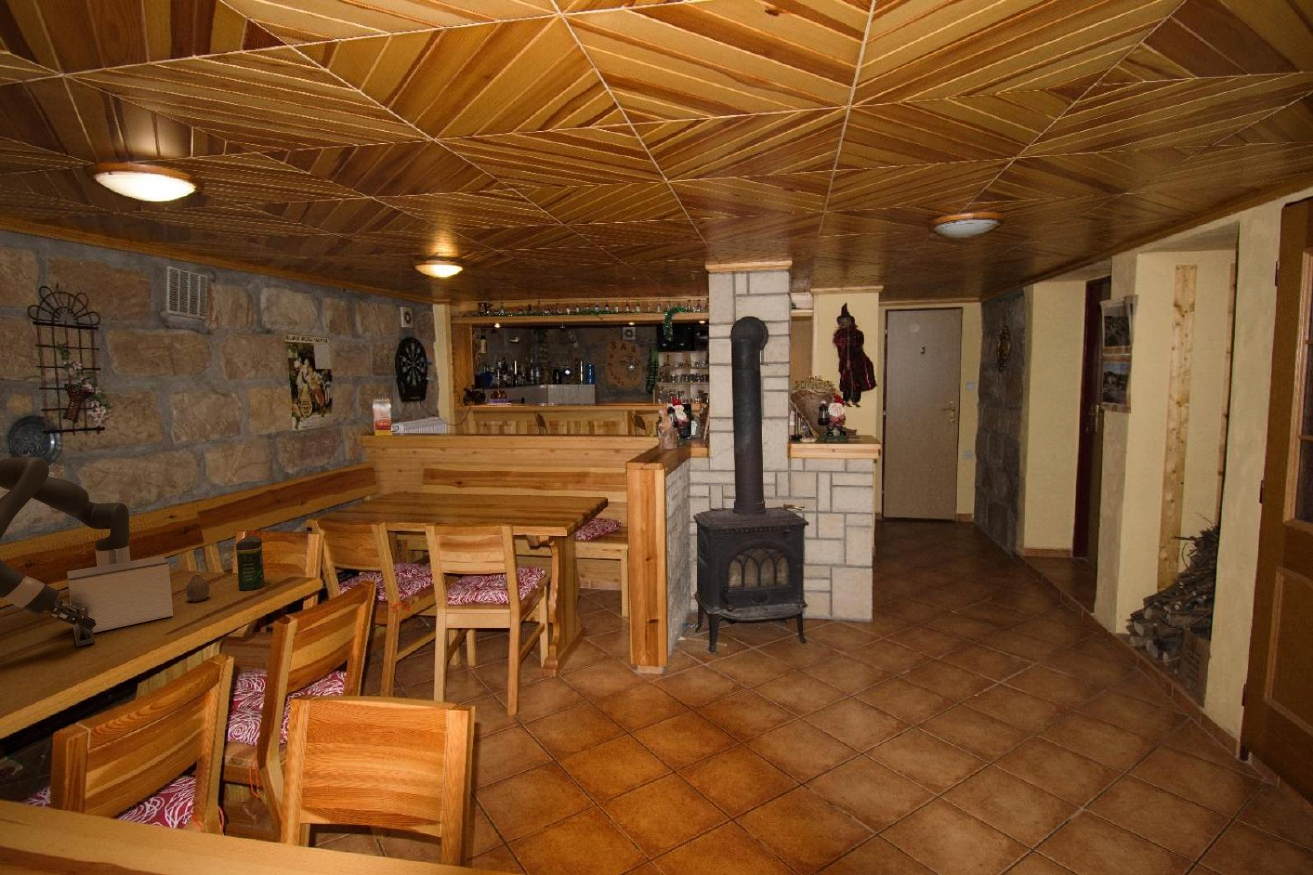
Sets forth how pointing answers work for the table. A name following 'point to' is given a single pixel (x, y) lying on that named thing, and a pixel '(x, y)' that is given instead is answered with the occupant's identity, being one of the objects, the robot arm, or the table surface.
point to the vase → (197, 589)
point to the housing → (114, 569)
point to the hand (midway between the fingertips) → (93, 625)
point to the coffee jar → (250, 563)
